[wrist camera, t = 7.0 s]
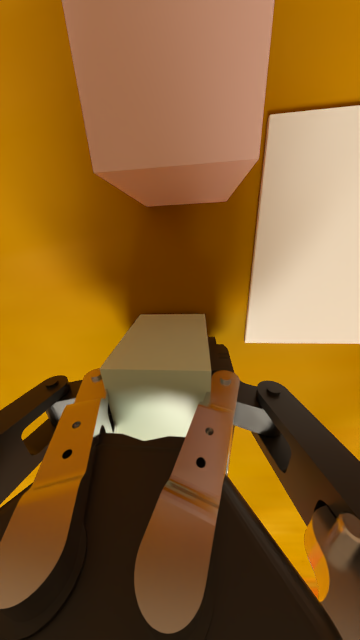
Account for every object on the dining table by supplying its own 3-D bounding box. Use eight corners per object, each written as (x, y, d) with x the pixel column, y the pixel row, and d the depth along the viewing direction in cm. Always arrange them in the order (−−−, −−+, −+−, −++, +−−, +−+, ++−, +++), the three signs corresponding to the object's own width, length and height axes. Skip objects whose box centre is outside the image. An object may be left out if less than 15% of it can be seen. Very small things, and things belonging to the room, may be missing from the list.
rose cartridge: (146, 206, 11) (93, 172, 5) (135, 98, 9) (39, -123, 3) (226, 201, 10) (258, 158, 5) (231, 86, 9) (292, -187, 3)
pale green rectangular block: (147, 366, 15) (118, 441, 9) (140, 314, 13) (99, 369, 8) (204, 367, 14) (209, 446, 9) (204, 313, 13) (211, 371, 7)
